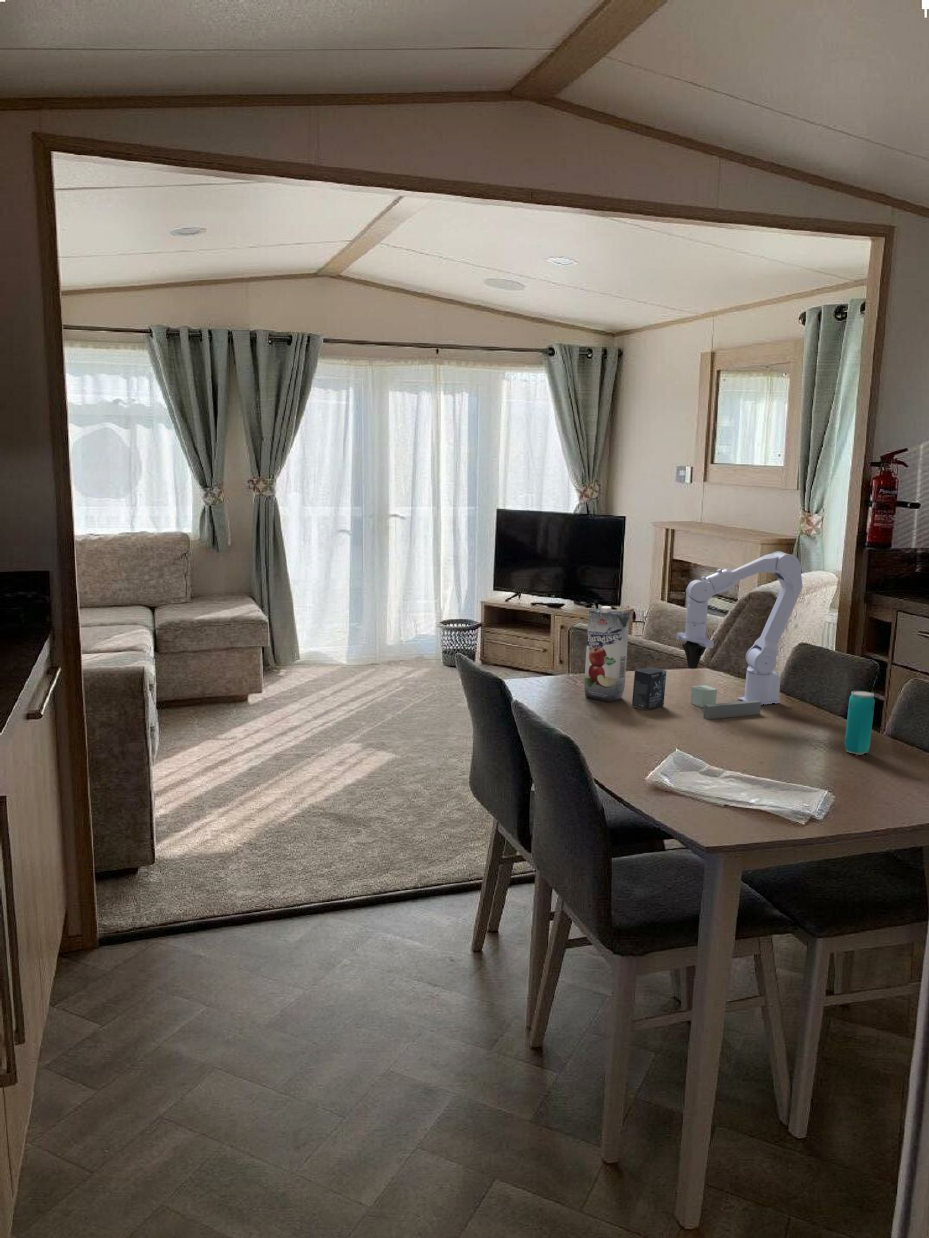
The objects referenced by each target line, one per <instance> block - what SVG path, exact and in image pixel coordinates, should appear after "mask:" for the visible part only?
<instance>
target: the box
mask: <svg viewBox="0 0 929 1238" xmlns="http://www.w3.org/2000/svg"><path fill="white" fill-rule="evenodd" d="M666 679H667V670H665V669H662V668H657V667H652V666H649V667H645V668H640V669H634V677H633V687H632V688H633V689H632V701H631V706H632V707H634V708H637V709H641V710H646V711H649V710H652V709H656V708H660V707H661V708H662V707H664V703H665V692H666V691H665V690H666Z"/></svg>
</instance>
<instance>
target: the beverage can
mask: <svg viewBox="0 0 929 1238" xmlns="http://www.w3.org/2000/svg"><path fill="white" fill-rule="evenodd" d="M875 702H876V700H875V694H874V693H873V692H869V691H865V690H853V691H851V694H850V696H849V700H848V706H847V707H848V710H847V718H846V727H845V737H844V747H845V751H846V752H849V753H856V754H864V753H867V754H868V752H869V750H870V748H871V739H872V731H873V730H872V728H873V722H874V710H875ZM849 753H848V754H849Z"/></svg>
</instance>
